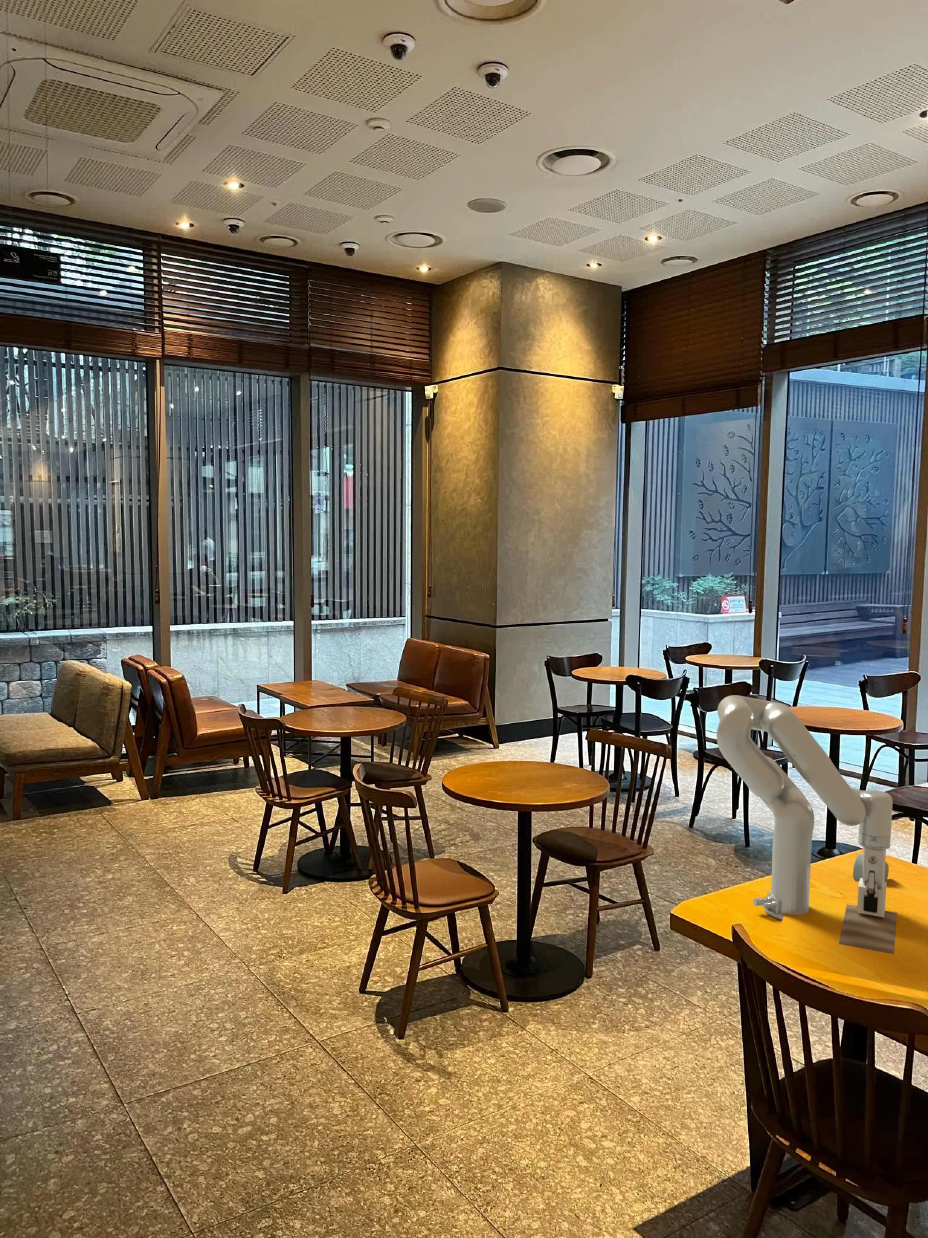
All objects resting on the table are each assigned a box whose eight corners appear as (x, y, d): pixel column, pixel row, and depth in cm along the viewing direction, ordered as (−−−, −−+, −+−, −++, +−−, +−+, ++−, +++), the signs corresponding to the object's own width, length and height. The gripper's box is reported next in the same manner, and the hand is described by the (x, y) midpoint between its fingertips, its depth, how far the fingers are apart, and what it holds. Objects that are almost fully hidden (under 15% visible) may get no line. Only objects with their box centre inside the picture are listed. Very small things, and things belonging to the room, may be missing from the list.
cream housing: (884, 917, 237) (885, 891, 236) (857, 912, 240) (858, 886, 239) (885, 908, 243) (886, 882, 242) (858, 903, 246) (859, 878, 245)
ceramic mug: (882, 890, 260) (884, 864, 259) (851, 883, 265) (853, 857, 264) (891, 880, 268) (893, 854, 268) (861, 873, 273) (863, 848, 273)
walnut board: (893, 960, 219) (893, 954, 218) (838, 949, 224) (838, 943, 224) (896, 918, 242) (896, 912, 242) (846, 909, 247) (846, 904, 247)
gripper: (889, 852, 230) (885, 922, 232) (891, 831, 246) (888, 897, 248) (856, 847, 233) (852, 916, 235) (860, 827, 249) (857, 892, 251)
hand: (870, 905), depth 241 cm, fingers open, 6 cm apart
